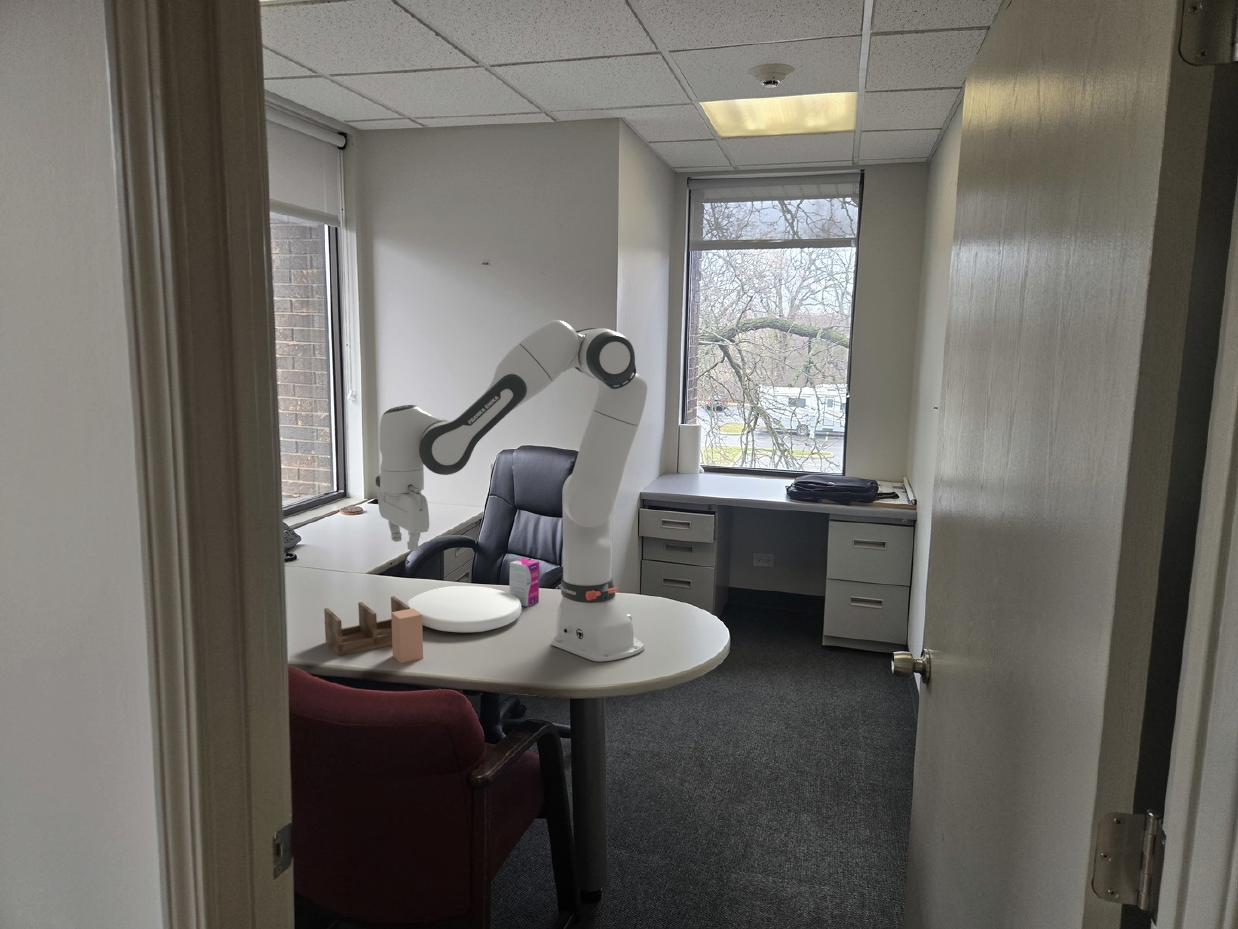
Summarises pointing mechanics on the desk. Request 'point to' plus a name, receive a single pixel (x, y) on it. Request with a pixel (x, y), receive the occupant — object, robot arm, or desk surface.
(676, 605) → the desk surface
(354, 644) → the desk organiser
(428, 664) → the desk surface
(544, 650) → the desk surface
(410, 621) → the terracotta block
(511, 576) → the supplement box
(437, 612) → the plate
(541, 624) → the desk surface
